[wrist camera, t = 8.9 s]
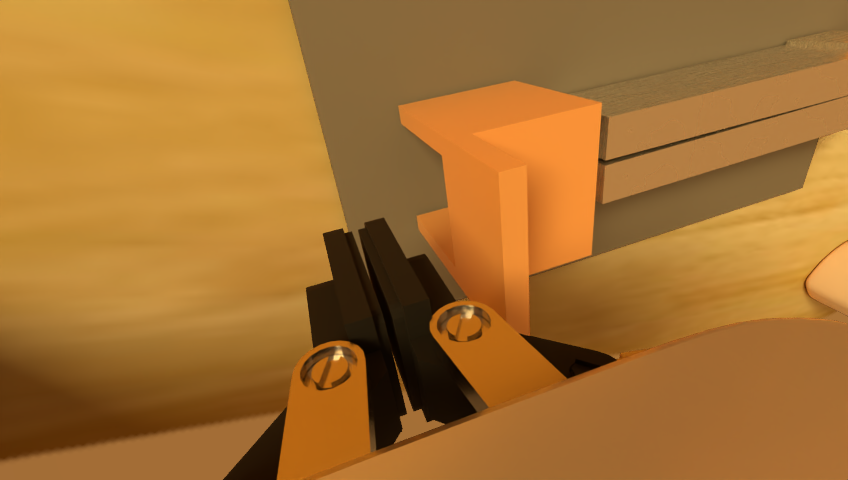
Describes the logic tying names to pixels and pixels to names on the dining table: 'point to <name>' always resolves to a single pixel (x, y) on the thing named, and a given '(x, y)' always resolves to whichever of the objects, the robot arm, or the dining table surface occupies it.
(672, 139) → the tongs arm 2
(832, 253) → the eye dropper bottle
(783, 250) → the dining table surface
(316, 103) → the mat
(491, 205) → the collar
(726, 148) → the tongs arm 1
